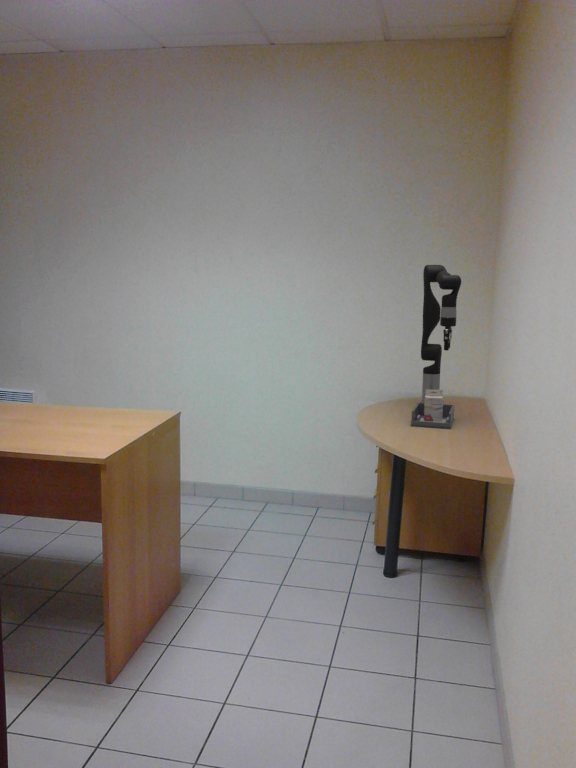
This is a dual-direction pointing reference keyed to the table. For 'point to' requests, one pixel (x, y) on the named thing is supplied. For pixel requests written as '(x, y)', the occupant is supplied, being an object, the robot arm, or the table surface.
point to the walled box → (419, 421)
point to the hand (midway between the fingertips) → (446, 349)
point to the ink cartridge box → (433, 405)
